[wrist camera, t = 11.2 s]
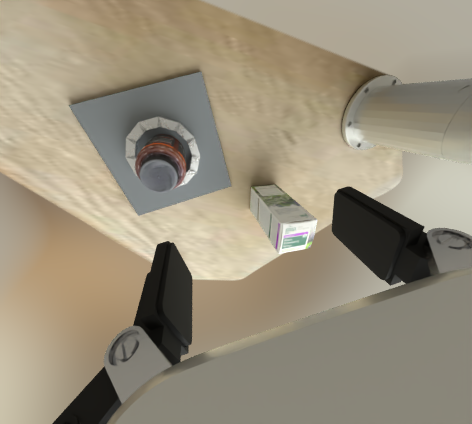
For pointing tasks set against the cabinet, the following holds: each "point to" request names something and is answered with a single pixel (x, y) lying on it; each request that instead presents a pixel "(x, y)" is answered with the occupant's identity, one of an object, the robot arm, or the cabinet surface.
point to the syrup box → (282, 218)
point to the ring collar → (168, 124)
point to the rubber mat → (146, 107)
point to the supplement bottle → (161, 164)
